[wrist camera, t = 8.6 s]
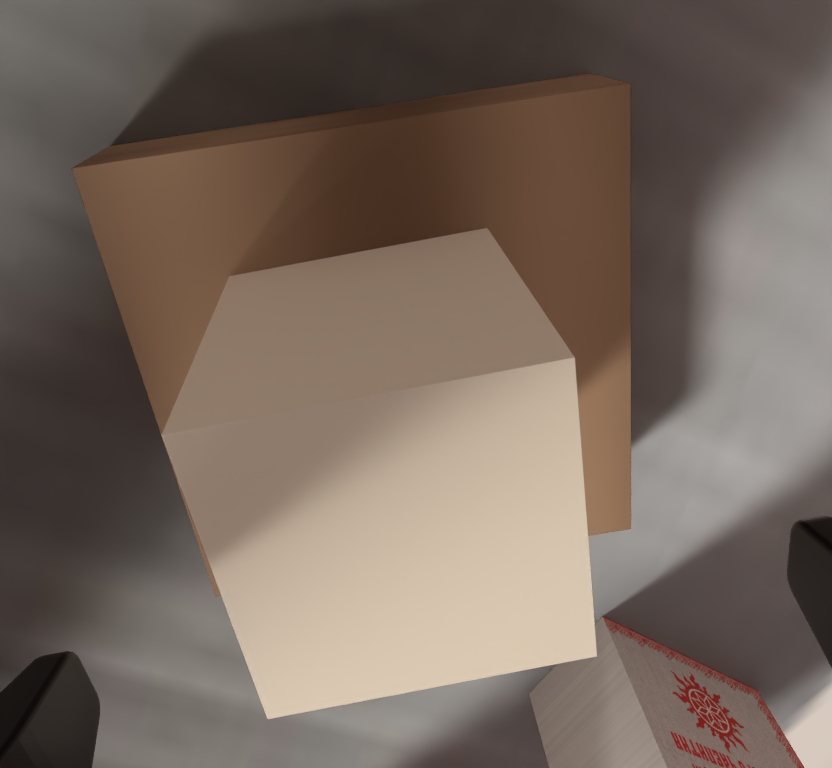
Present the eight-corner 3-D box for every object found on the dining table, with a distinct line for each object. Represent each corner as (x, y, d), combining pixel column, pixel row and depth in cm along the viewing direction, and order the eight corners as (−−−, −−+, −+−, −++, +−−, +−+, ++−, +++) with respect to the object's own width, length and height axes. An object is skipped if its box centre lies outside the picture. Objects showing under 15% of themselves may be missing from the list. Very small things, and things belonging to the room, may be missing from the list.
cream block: (291, 489, 16) (267, 718, 11) (228, 276, 14) (160, 435, 9) (514, 447, 16) (597, 655, 11) (486, 227, 14) (574, 357, 9)
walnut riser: (232, 519, 20) (215, 596, 18) (117, 141, 16) (71, 168, 13) (593, 461, 21) (631, 528, 18) (582, 71, 16) (630, 83, 13)
